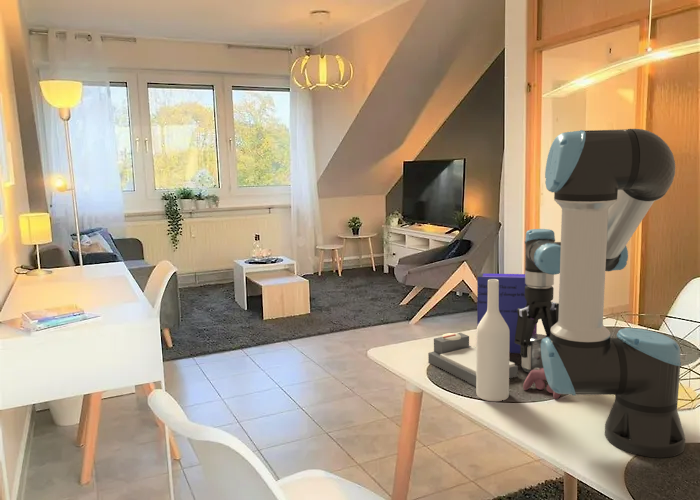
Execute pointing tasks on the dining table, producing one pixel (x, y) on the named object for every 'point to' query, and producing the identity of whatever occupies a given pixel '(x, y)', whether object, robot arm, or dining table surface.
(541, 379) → the video game controller
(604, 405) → the dining table surface
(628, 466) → the dining table surface
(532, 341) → the steel weight
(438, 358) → the platform scale
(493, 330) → the bottle
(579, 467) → the dining table surface
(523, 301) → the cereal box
